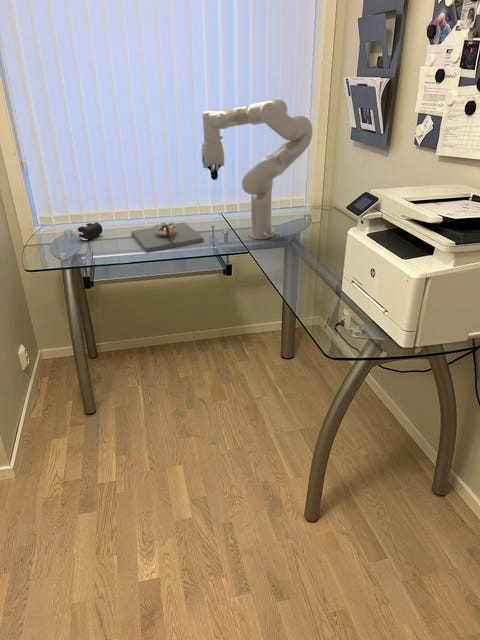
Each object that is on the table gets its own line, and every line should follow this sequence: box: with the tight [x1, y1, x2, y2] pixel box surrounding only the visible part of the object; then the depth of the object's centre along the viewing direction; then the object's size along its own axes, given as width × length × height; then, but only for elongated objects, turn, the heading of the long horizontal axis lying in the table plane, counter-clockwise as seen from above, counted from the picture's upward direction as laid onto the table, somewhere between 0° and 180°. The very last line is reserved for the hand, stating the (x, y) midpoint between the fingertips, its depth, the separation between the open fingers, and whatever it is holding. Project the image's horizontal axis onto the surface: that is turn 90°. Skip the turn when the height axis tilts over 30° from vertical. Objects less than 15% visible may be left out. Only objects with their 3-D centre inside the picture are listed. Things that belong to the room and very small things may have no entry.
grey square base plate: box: [131, 221, 204, 253], centre depth 230 cm, size 28×28×2 cm
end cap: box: [77, 221, 103, 240], centre depth 233 cm, size 10×7×7 cm
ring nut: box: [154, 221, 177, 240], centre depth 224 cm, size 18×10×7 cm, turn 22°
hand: (214, 179), depth 227 cm, fingers closed
